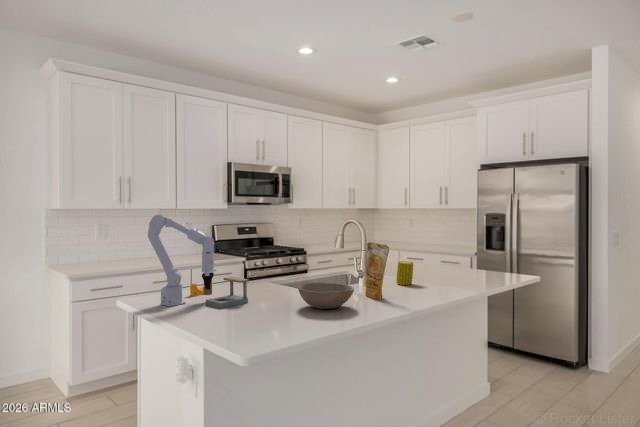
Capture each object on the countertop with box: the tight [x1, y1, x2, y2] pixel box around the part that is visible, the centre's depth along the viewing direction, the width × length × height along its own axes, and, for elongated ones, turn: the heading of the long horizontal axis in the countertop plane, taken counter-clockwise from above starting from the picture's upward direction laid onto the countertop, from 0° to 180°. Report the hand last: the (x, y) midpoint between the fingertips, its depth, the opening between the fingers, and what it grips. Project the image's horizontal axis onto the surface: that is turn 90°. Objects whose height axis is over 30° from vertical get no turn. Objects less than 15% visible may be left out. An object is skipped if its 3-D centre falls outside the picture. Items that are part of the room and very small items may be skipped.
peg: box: [203, 280, 213, 296], centre depth 216 cm, size 4×4×8 cm
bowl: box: [297, 282, 355, 310], centre depth 204 cm, size 26×26×10 cm
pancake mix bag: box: [365, 241, 390, 301], centre depth 227 cm, size 7×19×28 cm, turn 22°
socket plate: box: [205, 276, 250, 309], centre depth 212 cm, size 16×13×12 cm
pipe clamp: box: [189, 283, 204, 297], centre depth 236 cm, size 12×4×6 cm, turn 145°
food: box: [395, 260, 414, 286], centre depth 264 cm, size 15×12×10 cm
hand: (207, 288), depth 216 cm, fingers closed on peg, 4 cm apart
